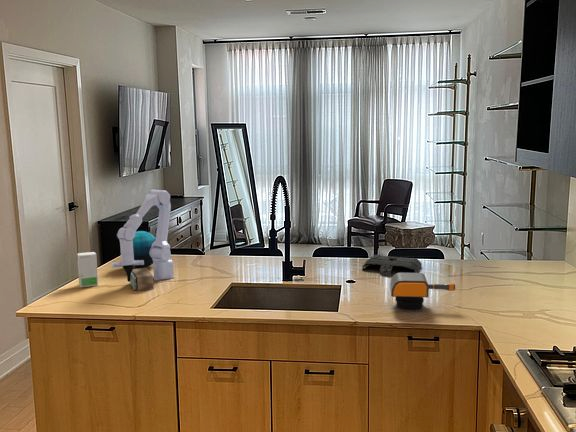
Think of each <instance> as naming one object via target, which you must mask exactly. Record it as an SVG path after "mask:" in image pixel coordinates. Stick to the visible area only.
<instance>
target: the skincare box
mask: <svg viewBox="0 0 576 432" xmlns="http://www.w3.org/2000/svg"><path fill="white" fill-rule="evenodd" d="M76 255H77V270H78V271H77V273H78V285H79V287H80V288H87V287H88V288H89V287H95V286H99V277H98V261H97V253H96V252H95V251H91V252H90V251H87V252H78V253H76Z"/></svg>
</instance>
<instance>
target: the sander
mask: <svg viewBox="0 0 576 432" xmlns="http://www.w3.org/2000/svg"><path fill="white" fill-rule="evenodd" d="M389 286H390V297H393V298H395V301H396V303H395V304H394V309H396V310H399V311H402V312H404V313H405V312H406V313H407V312H408V313H417V312H423V310H425V309H426V308H425V305H424V298H429V297H430V295H429V290H433V289H434V290H445V291H448V292H454V291H455V290H456V284H455V283H454V282H453V283H452V282H451V283H450V282H448V283H442V284H441V283H434V284H433V283H428V280H427V277H426V275H425V274H424V273H423V272H418V273H415V272H397V273H395V274H393V276H392V277H391V279H390V284H389Z"/></svg>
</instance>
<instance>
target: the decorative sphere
mask: <svg viewBox="0 0 576 432" xmlns="http://www.w3.org/2000/svg"><path fill="white" fill-rule="evenodd" d="M155 240H156V236H154V235H153V234H152V233H150V232H148V231H146V230H145V231H144V230H138V231H137V230H136V232H135V237H134V238H133V253H134V260H143V261H144V265H134V266H133V268H134V269H140V268H148V267H150V266H152V265H153V260H152V258H151V257H150V254H149V252H150V249H151V247H152V243H153V242H155Z"/></svg>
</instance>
